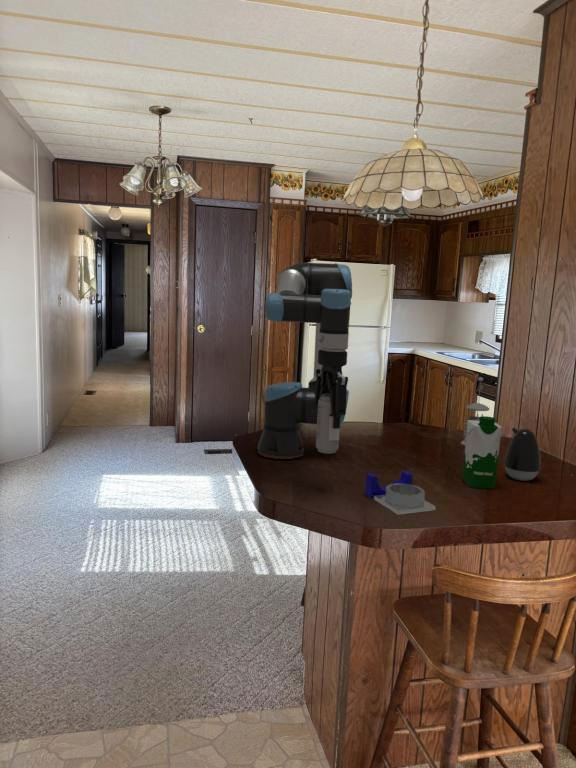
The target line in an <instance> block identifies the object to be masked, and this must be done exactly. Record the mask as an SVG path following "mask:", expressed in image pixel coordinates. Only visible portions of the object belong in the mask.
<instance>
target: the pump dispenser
mask: <svg viewBox="0 0 576 768" xmlns="http://www.w3.org/2000/svg"><path fill="white" fill-rule="evenodd" d="M511 431H512V432H513V433H514V435H513V437H512V438H511V440H510V443H509V444H508V447H507V449H506V453H505V456H504V460H503V465H504V468H505V472H506V473H507V475H508V476H509V477H510V478H512V479H514V480H516V481H521V482H522V481H523V482H525V481H532V480H534V479H535V478H536V477H537V476H538V474H539V471H541V468H542V467H541V466H542V465H541V464H542V462H541V452H540V447H539V442H538V438H537V437H536V435H535V433H534V432H533V431H532V430H530V429H528V428H522V429H519V430H518V429H517V428H515V427H513V428H512V429H511Z"/></svg>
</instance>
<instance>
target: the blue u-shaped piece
mask: <svg viewBox="0 0 576 768" xmlns="http://www.w3.org/2000/svg"><path fill="white" fill-rule="evenodd" d="M396 483H402V484H410V485H413V473H411V472H409V471H407V470H402V471H401V474H400V477H399V479H398V480H394V481H393V482H392V483H390V484H396ZM386 486H387V485H384V486H383V487H381V486H380V485H379V481H378V476H377V475H376V474H374V473H372V472H371V473H366V480H365V493H364V495H365V494H366V495H367V496H366V495H365V496H366V497H368V498H369V497H370V498H371V499H374V496H377V495H385V493H386ZM372 495H373V496H372ZM370 498H369V499H370Z"/></svg>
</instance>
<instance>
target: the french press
mask: <svg viewBox="0 0 576 768" xmlns="http://www.w3.org/2000/svg"><path fill="white" fill-rule="evenodd" d="M477 380H478V381H480V382H479V388H481V385H482V381H484V378H483V377H478V379H477ZM480 394H481V389H479V390H478V398H481V397H480V396H481V395H480ZM466 409H468V410H471V411H477V413H476V416H475V415H474V416H473V415H471V416H466V419H467V420H475V421H480V417H481V416H484V413H481V416H479V412H488V411H489V410H490V407H489V406H488V405H485V404H483V403H480V399H478V402H476V403H474V402H473V403H470V404H468V405H466ZM467 420H466V421H465V424H464V425H465V426H464V435H463V440H461V442H460V444H462V445H464V446H465V444H466V433H467Z"/></svg>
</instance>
